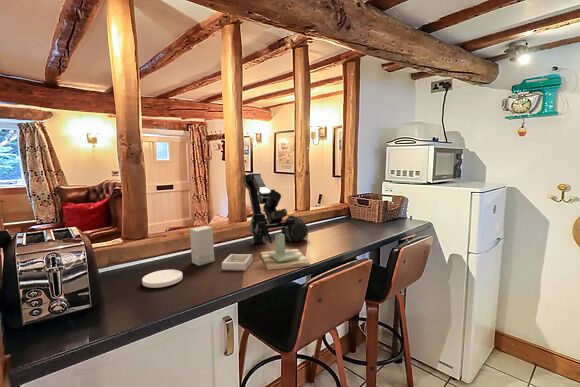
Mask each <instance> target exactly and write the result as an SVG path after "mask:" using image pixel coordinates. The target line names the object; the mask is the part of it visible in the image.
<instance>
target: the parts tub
mask: <svg viewBox="0 0 580 387" xmlns="http://www.w3.org/2000/svg"><path fill="white" fill-rule="evenodd" d="M253 260H254V259H253V254H252V253H251V254H248V253H247V254H246V253H245V254H244V253H243V254H242V253H241V254H238V253H237V254H236V253H230V254H229V255H228V256H227V257H226V258H225V259H224V260H223V261H222V262H221V271H247V269H248V268H249V267H250V265H251V264H252V263H253Z"/></svg>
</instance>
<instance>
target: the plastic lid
mask: <svg viewBox="0 0 580 387" xmlns="http://www.w3.org/2000/svg"><path fill="white" fill-rule="evenodd" d="M183 274H184V273H183V271H181V270H177V269H163V270H156V271H153V272H150V273H148V274H146V275H144V276H143V277H142V279H141V282H142V283H141V284H142V285H143V286H144V287H146V288H154V289H156V288H164V287H169V286H172V285H175V284H178V283H179V282H181V281H182V280H183V278H184V277H183V276H184V275H183Z"/></svg>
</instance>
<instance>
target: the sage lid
mask: <svg viewBox="0 0 580 387" xmlns="http://www.w3.org/2000/svg"><path fill="white" fill-rule="evenodd" d="M274 242H275V243H274V244H275V247H274V249H275V250H273V251H272V252H270V251H267V252H268V254H269V255H270V256H271V257H273V258H274V259H275V260H277V261H278V262H282V261H288V260H294V259H299V258H300V256H299V255H297V254H296V253H294V252H292V251H291V250H292V249H289V248H287V249H286V240H285V235H284V234H282V232H280V233H279V232H278V233H274Z"/></svg>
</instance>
